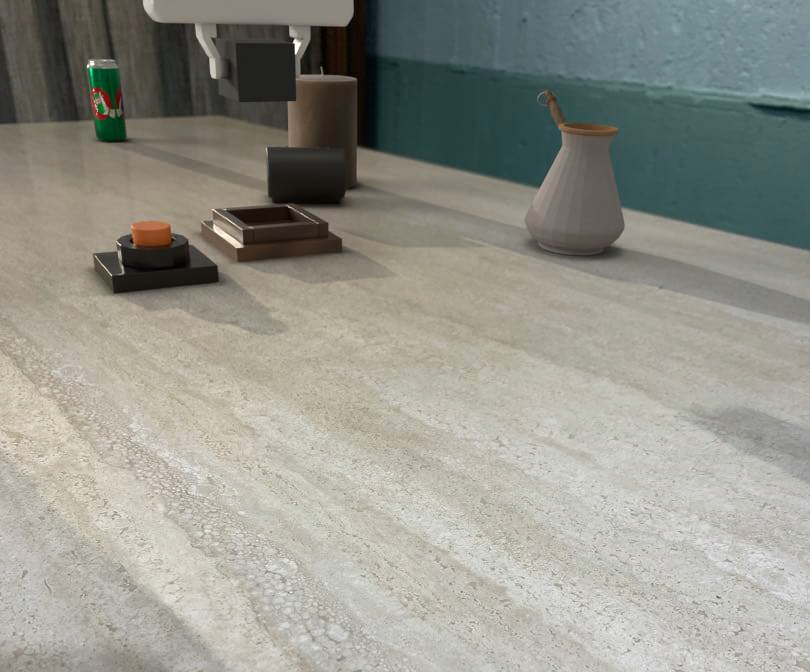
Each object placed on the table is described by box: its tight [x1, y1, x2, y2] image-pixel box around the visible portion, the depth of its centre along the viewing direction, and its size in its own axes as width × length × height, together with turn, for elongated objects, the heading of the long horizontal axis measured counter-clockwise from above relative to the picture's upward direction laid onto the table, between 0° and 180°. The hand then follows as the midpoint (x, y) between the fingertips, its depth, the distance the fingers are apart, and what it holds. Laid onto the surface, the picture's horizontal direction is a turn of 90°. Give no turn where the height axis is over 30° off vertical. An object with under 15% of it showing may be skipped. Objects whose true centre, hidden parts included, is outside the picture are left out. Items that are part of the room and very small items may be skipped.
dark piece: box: [92, 232, 220, 294], centre depth 84 cm, size 10×8×4 cm
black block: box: [214, 37, 296, 103], centre depth 86 cm, size 6×6×5 cm
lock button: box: [130, 220, 172, 246], centre depth 83 cm, size 4×4×2 cm
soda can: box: [86, 58, 128, 143], centre depth 144 cm, size 5×5×12 cm
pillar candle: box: [287, 66, 358, 191], centre depth 121 cm, size 10×10×15 cm
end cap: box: [265, 145, 347, 204], centre depth 113 cm, size 10×7×7 cm
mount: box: [200, 202, 343, 263], centre depth 96 cm, size 12×12×3 cm
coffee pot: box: [524, 88, 626, 256], centre depth 101 cm, size 21×12×15 cm, turn 10°
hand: (255, 78), depth 86 cm, fingers closed on black block, 6 cm apart
